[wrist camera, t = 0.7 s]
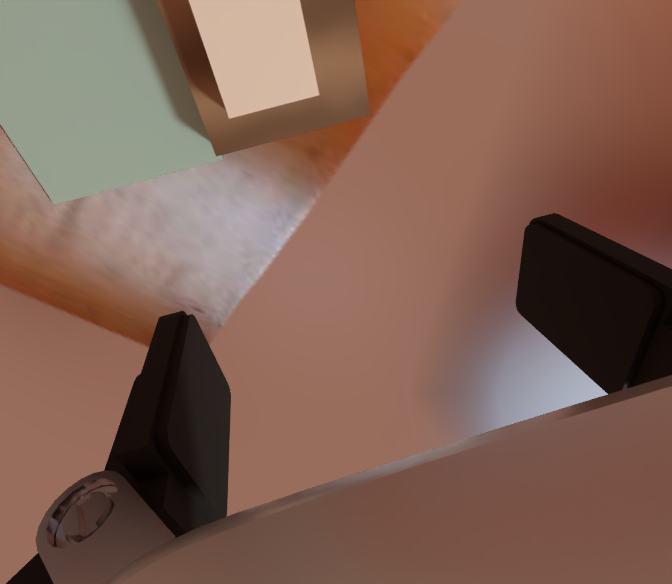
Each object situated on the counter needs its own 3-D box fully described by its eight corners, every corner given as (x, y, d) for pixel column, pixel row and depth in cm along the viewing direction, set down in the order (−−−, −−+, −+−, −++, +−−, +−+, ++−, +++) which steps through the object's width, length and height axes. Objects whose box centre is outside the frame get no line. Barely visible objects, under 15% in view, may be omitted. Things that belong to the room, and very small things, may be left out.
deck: (132, -88, 23) (113, -113, 19) (319, -129, 23) (332, -160, 20) (218, 146, 30) (216, 156, 27) (356, 109, 31) (370, 115, 28)
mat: (-118, -58, 21) (-124, -60, 21) (124, -110, 22) (122, -113, 22) (56, 203, 30) (54, 204, 30) (223, 158, 31) (223, 159, 31)
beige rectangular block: (172, -58, 21) (163, -74, 18) (274, -81, 21) (279, -100, 19) (230, 113, 26) (229, 118, 23) (312, 91, 26) (319, 95, 24)
